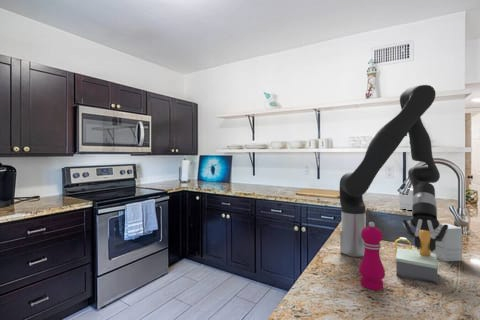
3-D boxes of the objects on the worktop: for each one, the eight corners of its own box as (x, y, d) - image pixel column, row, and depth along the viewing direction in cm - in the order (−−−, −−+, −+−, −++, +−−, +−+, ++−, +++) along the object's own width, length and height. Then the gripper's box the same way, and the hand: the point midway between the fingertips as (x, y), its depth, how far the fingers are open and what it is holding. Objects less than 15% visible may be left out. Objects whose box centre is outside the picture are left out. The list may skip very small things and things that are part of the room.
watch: (410, 252, 108) (411, 238, 107) (411, 255, 105) (412, 240, 105) (393, 249, 111) (395, 235, 110) (394, 251, 108) (395, 237, 108)
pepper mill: (373, 293, 76) (373, 226, 76) (354, 282, 83) (353, 220, 83) (390, 288, 79) (390, 223, 79) (370, 277, 86) (370, 218, 86)
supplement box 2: (446, 253, 105) (446, 222, 105) (462, 261, 98) (463, 228, 98) (428, 254, 105) (429, 223, 105) (443, 261, 98) (444, 228, 98)
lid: (395, 263, 87) (395, 233, 87) (397, 252, 97) (397, 225, 96) (438, 271, 81) (438, 239, 81) (435, 259, 90) (435, 230, 90)
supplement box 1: (418, 209, 186) (418, 189, 186) (412, 211, 181) (412, 190, 181) (404, 207, 194) (404, 187, 193) (398, 209, 188) (398, 188, 188)
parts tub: (396, 275, 87) (396, 260, 87) (398, 263, 96) (398, 250, 96) (437, 284, 81) (437, 268, 81) (435, 271, 90) (435, 256, 90)
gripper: (401, 199, 99) (400, 240, 90) (448, 203, 92) (452, 248, 82) (402, 210, 104) (401, 250, 94) (447, 215, 96) (450, 259, 86)
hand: (425, 249), depth 88 cm, fingers closed on lid, 3 cm apart
